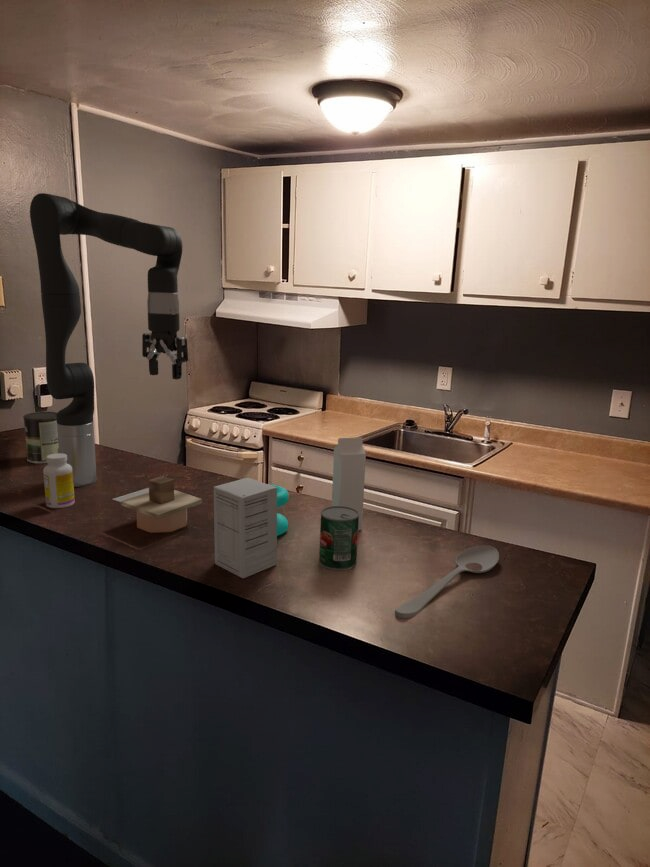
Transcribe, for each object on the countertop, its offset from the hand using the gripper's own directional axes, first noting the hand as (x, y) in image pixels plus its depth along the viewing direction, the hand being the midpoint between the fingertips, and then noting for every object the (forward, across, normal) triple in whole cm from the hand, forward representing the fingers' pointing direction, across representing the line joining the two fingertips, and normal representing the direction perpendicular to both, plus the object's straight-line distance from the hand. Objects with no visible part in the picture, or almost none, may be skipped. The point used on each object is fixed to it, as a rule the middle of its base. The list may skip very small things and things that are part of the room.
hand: (165, 377), depth 151 cm
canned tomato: (+32, +56, -3) cm, 65 cm away
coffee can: (+32, -55, -2) cm, 64 cm away
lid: (+27, +13, -13) cm, 33 cm away
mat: (+32, -2, -4) cm, 32 cm away
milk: (+32, +47, +14) cm, 59 cm away
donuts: (+32, +34, 0) cm, 47 cm away
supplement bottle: (+32, -16, -21) cm, 42 cm away
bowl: (+32, +13, -13) cm, 37 cm away
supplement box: (+32, +42, -16) cm, 55 cm away
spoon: (+33, +78, +3) cm, 85 cm away
